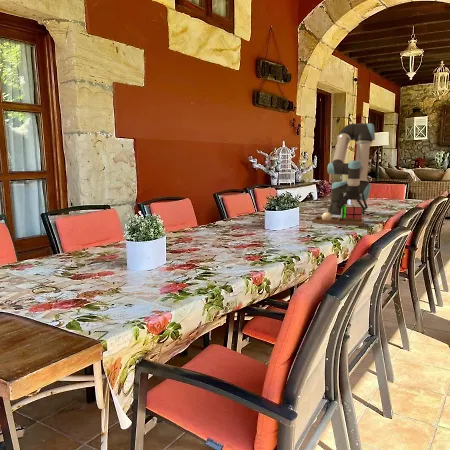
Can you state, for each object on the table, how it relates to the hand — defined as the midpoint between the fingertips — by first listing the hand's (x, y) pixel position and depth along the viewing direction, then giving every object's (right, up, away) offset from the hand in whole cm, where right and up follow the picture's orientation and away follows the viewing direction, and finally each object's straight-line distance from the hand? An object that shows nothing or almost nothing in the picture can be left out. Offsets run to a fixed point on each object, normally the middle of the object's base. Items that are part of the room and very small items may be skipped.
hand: (351, 218), depth 275 cm
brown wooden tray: (-11, -3, -11) cm, 16 cm away
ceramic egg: (-18, -2, -8) cm, 20 cm away
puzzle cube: (0, -2, 0) cm, 2 cm away
